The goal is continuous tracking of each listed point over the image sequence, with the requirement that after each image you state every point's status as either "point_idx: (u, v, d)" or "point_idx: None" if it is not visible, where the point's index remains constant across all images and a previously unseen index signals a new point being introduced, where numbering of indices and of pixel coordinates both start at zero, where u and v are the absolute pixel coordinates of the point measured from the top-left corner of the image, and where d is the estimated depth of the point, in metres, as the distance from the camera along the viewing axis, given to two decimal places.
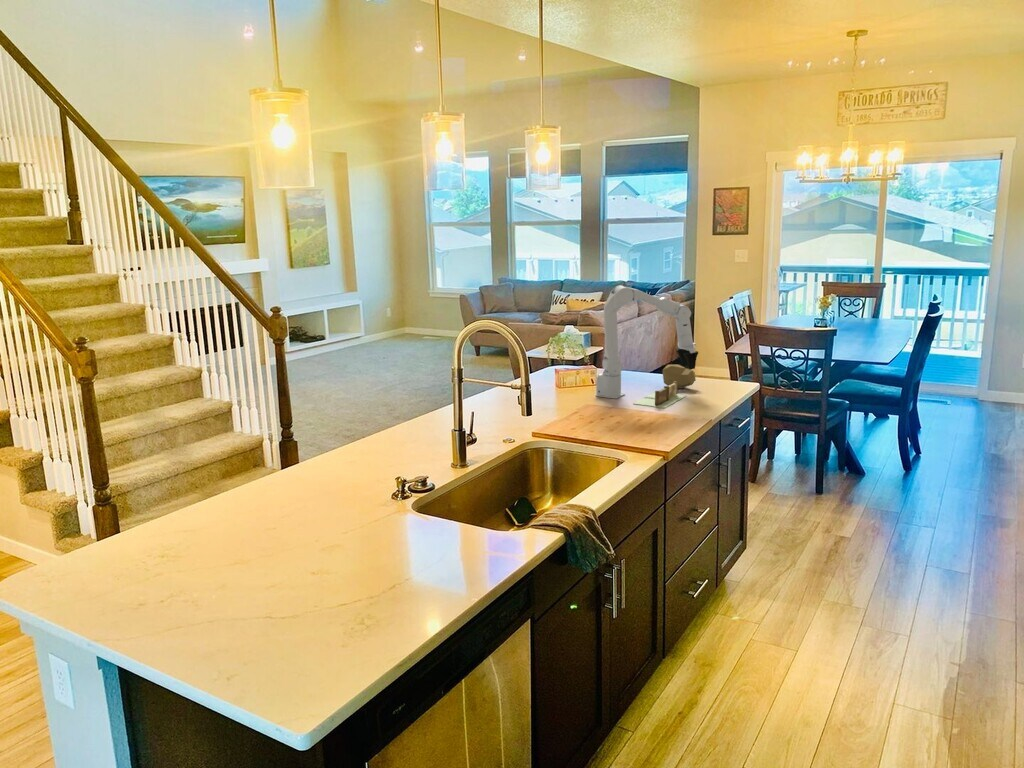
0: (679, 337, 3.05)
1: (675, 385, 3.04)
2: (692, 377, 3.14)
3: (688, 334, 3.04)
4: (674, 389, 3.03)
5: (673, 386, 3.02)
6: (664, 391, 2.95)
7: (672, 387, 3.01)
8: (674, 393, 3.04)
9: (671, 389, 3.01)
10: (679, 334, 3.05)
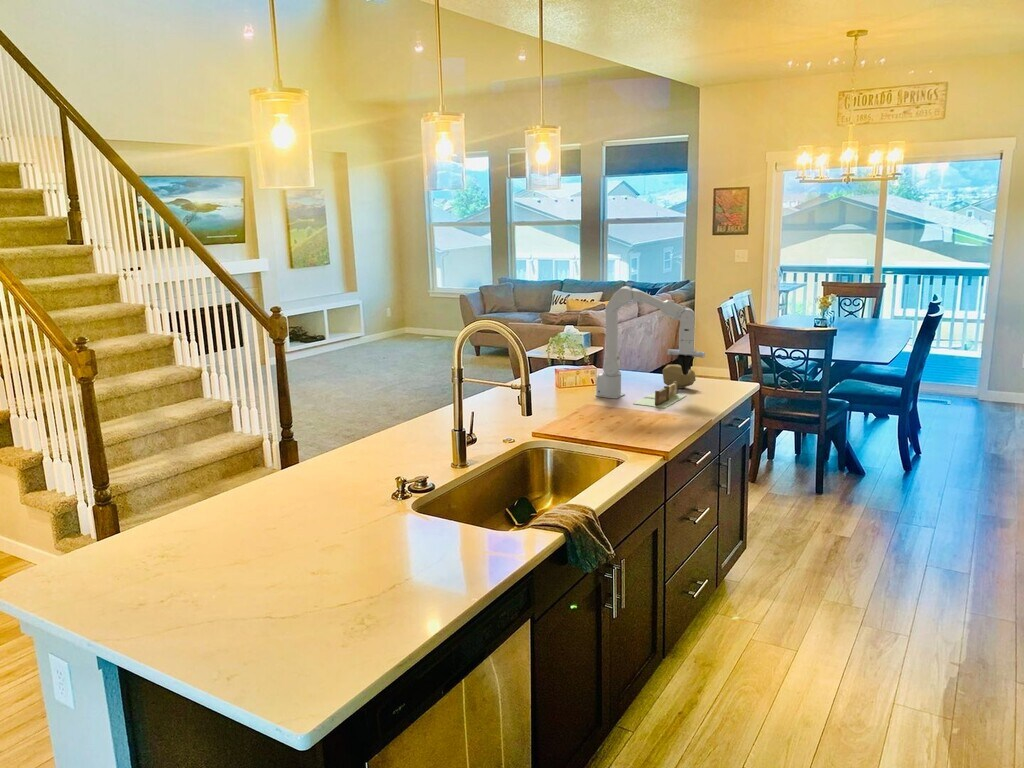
0: (686, 342, 2.94)
1: (675, 385, 3.04)
2: (692, 377, 3.14)
3: (688, 340, 2.94)
4: (674, 389, 3.03)
5: (673, 386, 3.02)
6: (664, 391, 2.95)
7: (672, 387, 3.01)
8: (674, 393, 3.04)
9: (671, 389, 3.01)
10: (679, 338, 2.96)
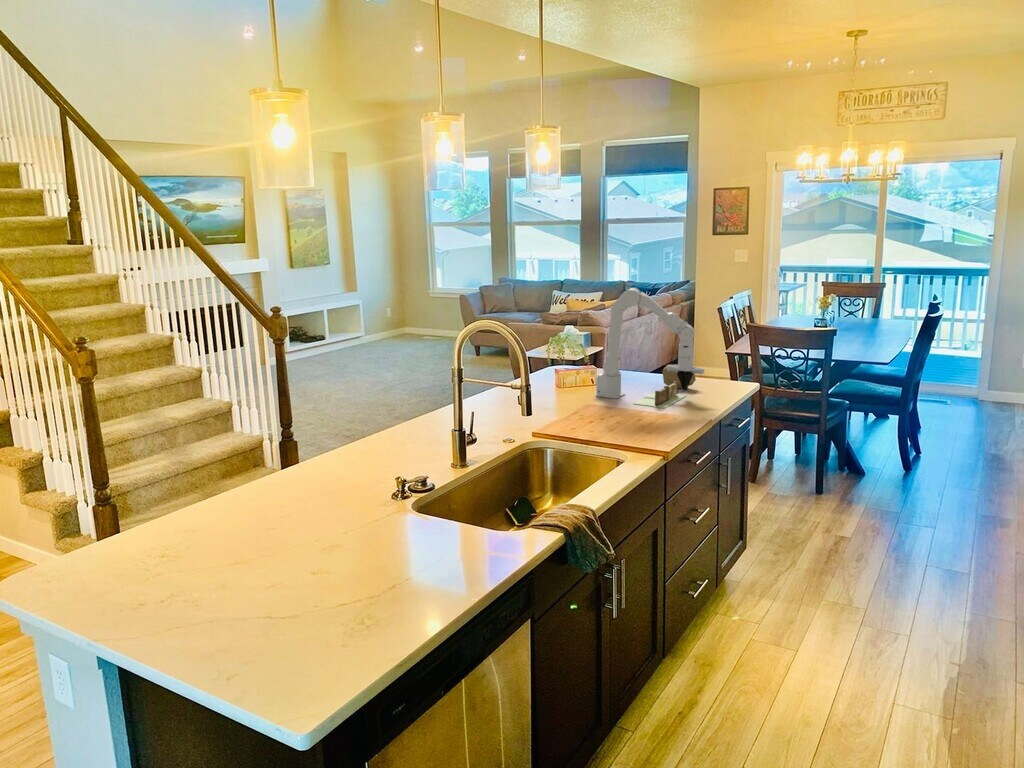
0: (686, 359, 2.95)
1: (675, 385, 3.04)
2: (692, 377, 3.14)
3: (687, 357, 2.95)
4: (674, 389, 3.03)
5: (673, 386, 3.02)
6: (664, 391, 2.95)
7: (672, 387, 3.01)
8: (674, 393, 3.04)
9: (671, 389, 3.01)
10: (679, 355, 2.97)
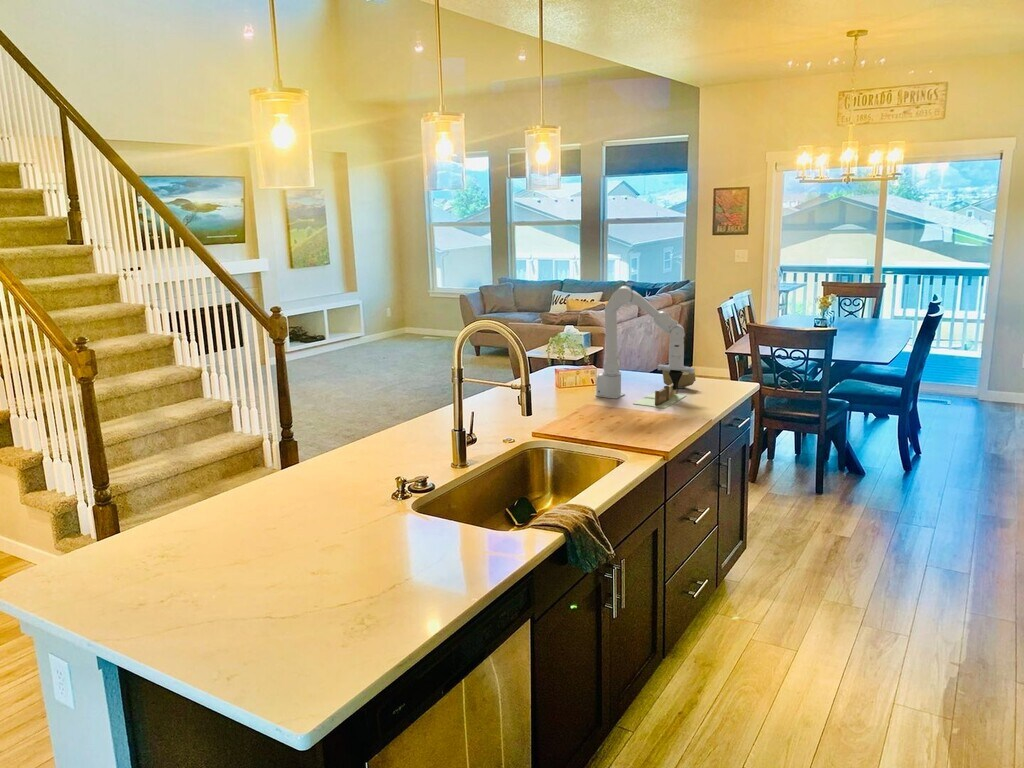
0: (676, 358, 2.97)
1: None
2: (692, 377, 3.14)
3: (678, 356, 2.97)
4: None
5: None
6: (664, 391, 2.95)
7: (672, 387, 3.02)
8: (674, 393, 3.04)
9: (671, 389, 3.01)
10: (669, 354, 2.99)
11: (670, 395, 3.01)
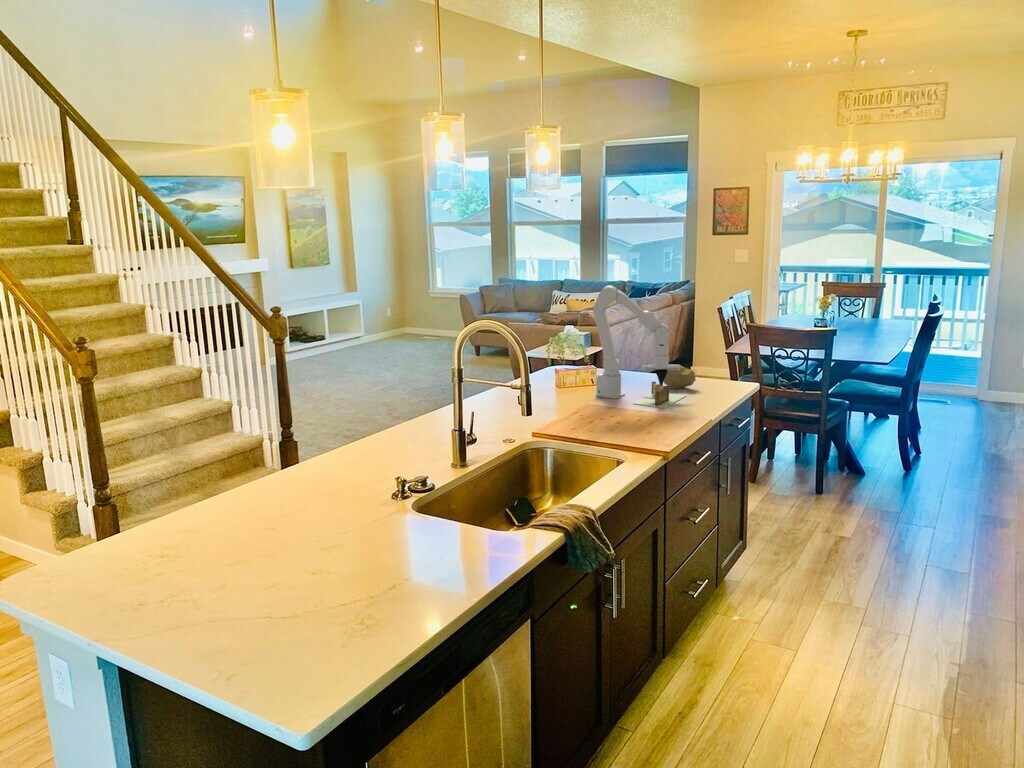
0: (664, 357, 2.99)
1: None
2: (692, 377, 3.14)
3: (663, 355, 2.99)
4: None
5: None
6: (664, 391, 2.95)
7: None
8: None
9: None
10: (654, 353, 3.01)
11: None
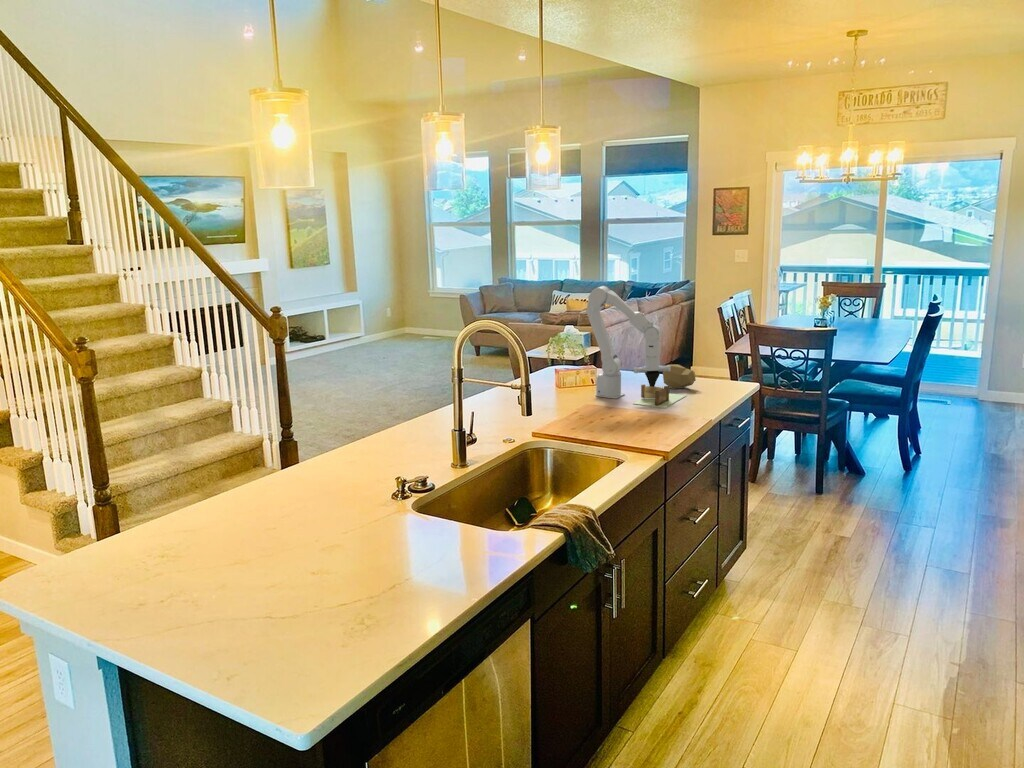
0: (657, 358, 2.97)
1: None
2: (692, 377, 3.14)
3: (653, 356, 2.97)
4: None
5: None
6: (664, 391, 2.95)
7: None
8: None
9: None
10: (645, 354, 2.99)
11: None
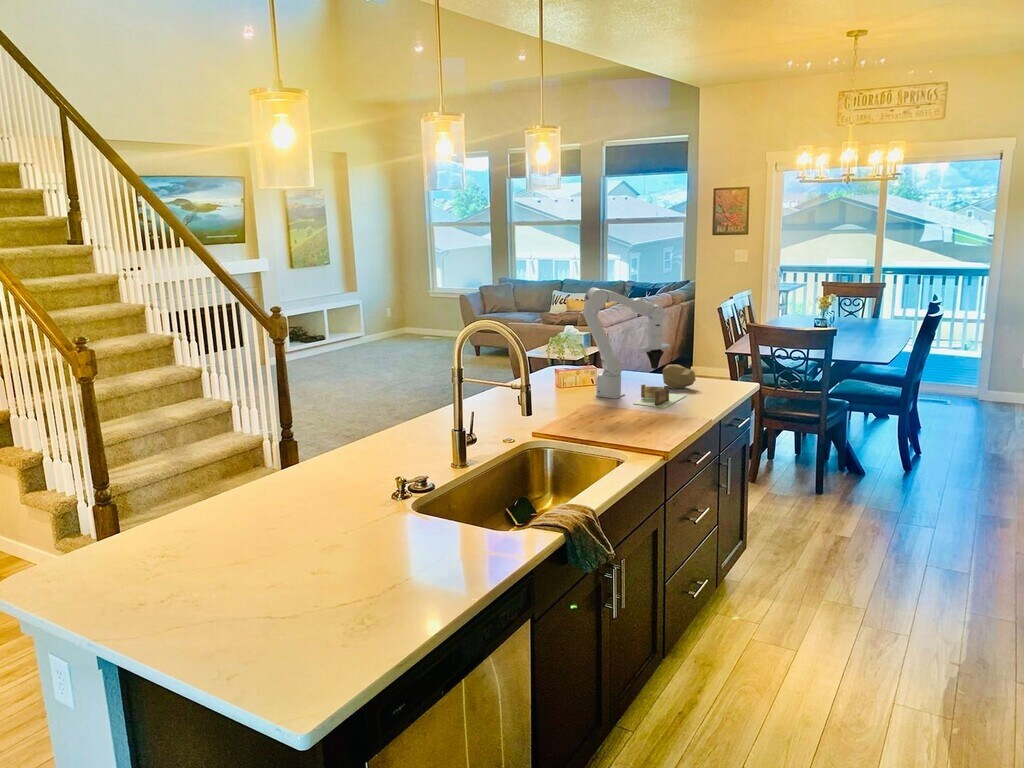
0: (661, 336, 3.05)
1: None
2: (692, 377, 3.14)
3: (659, 335, 3.03)
4: None
5: None
6: (664, 391, 2.95)
7: None
8: None
9: None
10: (650, 334, 3.04)
11: None
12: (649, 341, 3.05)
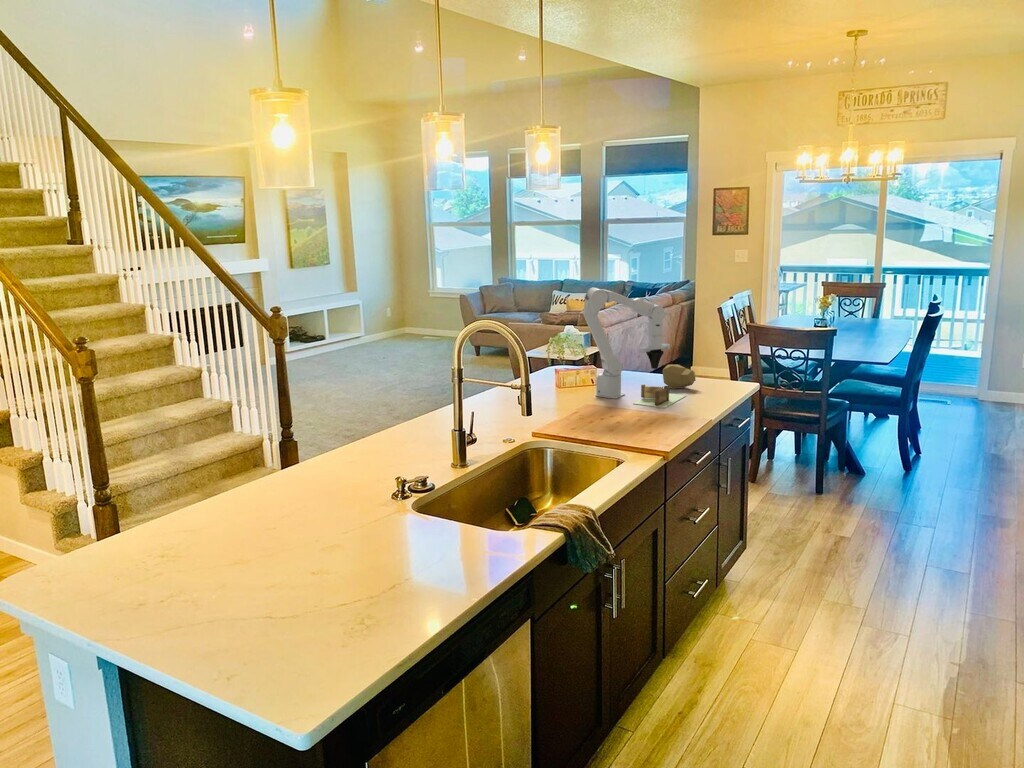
0: (661, 336, 3.05)
1: None
2: (692, 377, 3.14)
3: (659, 335, 3.03)
4: None
5: None
6: (664, 391, 2.95)
7: None
8: None
9: None
10: (650, 334, 3.04)
11: None
12: (649, 341, 3.05)
